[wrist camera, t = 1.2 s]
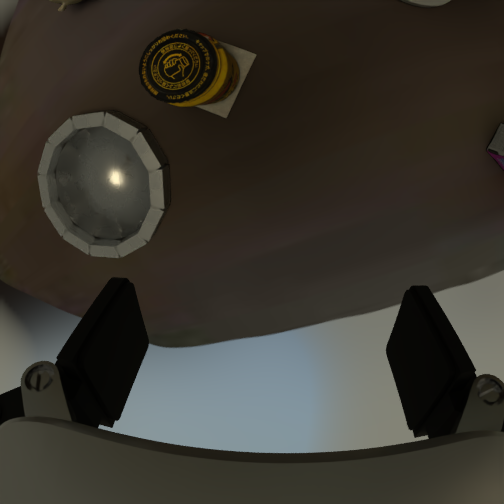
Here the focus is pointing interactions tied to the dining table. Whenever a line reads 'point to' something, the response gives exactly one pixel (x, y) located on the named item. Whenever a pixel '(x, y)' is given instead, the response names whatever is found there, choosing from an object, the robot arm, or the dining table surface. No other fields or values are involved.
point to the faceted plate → (104, 183)
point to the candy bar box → (498, 146)
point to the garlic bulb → (65, 3)
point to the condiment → (194, 70)
